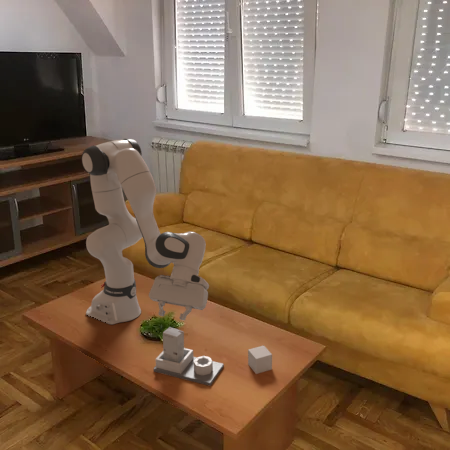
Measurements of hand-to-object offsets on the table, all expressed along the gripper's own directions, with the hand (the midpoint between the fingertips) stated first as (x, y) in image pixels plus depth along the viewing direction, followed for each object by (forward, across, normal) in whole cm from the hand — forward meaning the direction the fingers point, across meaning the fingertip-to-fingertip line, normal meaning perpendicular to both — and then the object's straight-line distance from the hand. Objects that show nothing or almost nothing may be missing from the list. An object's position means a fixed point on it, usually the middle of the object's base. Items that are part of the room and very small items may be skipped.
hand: (171, 317), depth 169 cm
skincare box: (+12, 0, +13) cm, 18 cm away
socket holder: (+13, +5, +14) cm, 20 cm away
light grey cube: (+6, +27, +22) cm, 35 cm away
